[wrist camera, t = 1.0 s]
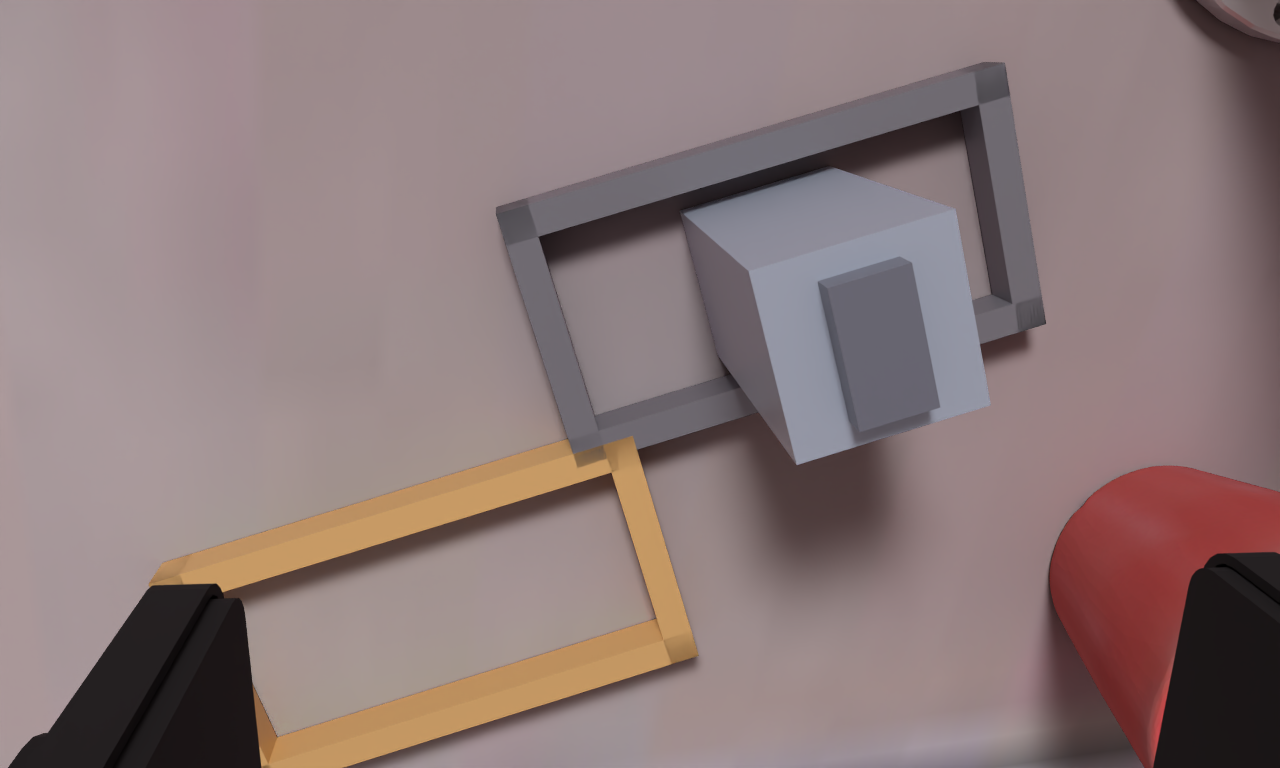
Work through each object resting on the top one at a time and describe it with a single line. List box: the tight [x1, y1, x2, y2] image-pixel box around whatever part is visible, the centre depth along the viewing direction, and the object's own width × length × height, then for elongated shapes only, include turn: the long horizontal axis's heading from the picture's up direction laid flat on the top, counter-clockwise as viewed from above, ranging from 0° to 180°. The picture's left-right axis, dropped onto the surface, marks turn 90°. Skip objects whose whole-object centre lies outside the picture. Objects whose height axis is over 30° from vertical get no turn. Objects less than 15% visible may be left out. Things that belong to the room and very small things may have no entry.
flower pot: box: [1050, 466, 1280, 768], centre depth 35 cm, size 11×11×10 cm
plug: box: [680, 166, 991, 465], centre depth 30 cm, size 5×5×11 cm
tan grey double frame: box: [149, 62, 1046, 768], centre depth 35 cm, size 30×16×2 cm, turn 105°
